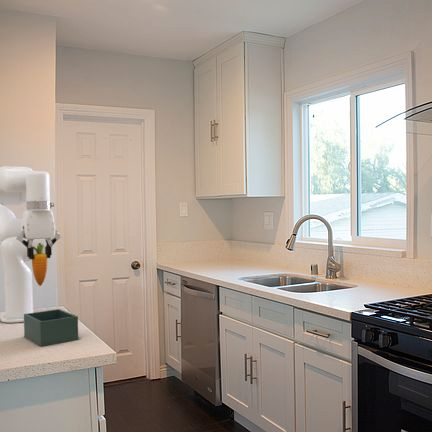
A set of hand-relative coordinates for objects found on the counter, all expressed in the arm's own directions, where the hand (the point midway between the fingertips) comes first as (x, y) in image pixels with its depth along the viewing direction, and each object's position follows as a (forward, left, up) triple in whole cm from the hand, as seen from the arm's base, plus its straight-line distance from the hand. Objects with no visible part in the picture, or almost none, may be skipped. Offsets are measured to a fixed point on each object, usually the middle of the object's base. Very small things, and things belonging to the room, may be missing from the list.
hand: (39, 257), depth 189 cm
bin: (+16, -2, -25) cm, 30 cm away
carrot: (0, 0, -10) cm, 10 cm away
